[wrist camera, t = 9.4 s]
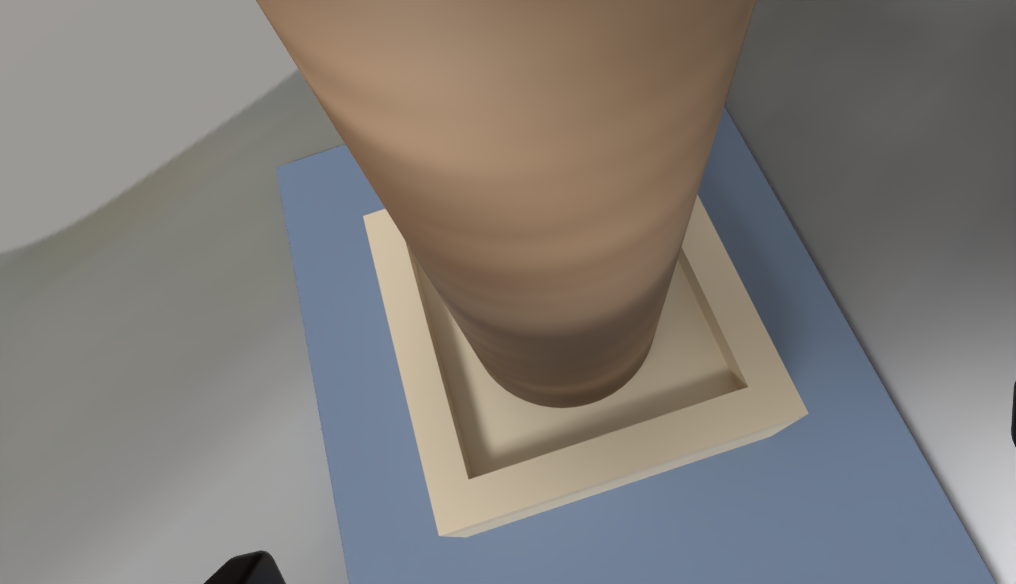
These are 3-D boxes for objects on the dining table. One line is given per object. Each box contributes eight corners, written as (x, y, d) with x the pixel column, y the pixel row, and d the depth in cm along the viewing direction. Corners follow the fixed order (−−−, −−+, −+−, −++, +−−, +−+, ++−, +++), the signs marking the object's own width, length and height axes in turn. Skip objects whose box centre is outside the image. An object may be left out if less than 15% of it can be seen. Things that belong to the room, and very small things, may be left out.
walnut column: (695, 310, 16) (978, -324, 4) (566, 449, 15) (473, 130, 3) (557, 202, 18) (489, -463, 6) (433, 321, 17) (69, -185, 5)
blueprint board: (995, 605, 16) (1114, 624, 12) (396, 803, 16) (338, 880, 12) (680, 43, 24) (695, -46, 20) (283, 176, 24) (227, 110, 20)
